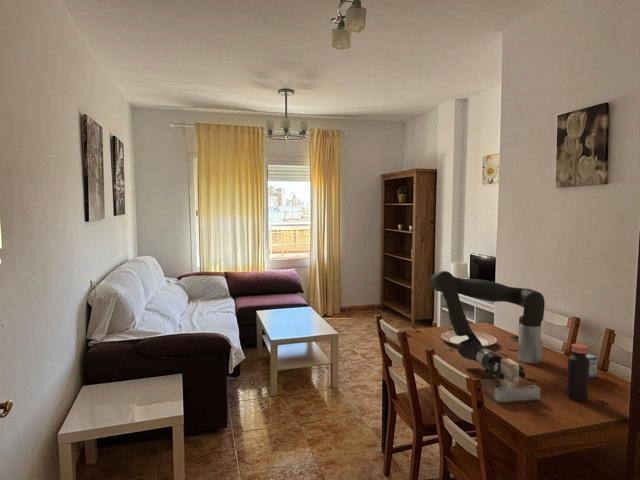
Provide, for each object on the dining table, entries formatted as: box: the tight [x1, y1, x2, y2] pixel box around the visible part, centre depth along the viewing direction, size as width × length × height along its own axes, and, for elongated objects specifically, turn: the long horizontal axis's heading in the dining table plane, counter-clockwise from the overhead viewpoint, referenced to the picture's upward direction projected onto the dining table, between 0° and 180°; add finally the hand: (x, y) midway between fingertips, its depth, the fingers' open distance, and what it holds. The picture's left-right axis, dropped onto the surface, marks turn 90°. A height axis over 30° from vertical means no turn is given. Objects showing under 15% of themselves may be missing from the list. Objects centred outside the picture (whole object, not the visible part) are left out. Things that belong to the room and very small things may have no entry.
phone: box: [509, 335, 518, 343], centre depth 218 cm, size 8×1×15 cm
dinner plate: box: [441, 330, 498, 348], centre depth 217 cm, size 27×27×3 cm
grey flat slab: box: [480, 378, 539, 405], centre depth 158 cm, size 16×18×1 cm
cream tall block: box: [500, 358, 520, 387], centre depth 154 cm, size 4×6×12 cm, turn 9°
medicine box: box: [586, 353, 598, 379], centre depth 173 cm, size 8×4×9 cm, turn 106°
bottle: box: [565, 343, 590, 403], centre depth 152 cm, size 7×7×20 cm
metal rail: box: [494, 384, 541, 402], centre depth 149 cm, size 16×3×4 cm, turn 98°
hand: (513, 376), depth 151 cm, fingers open, 8 cm apart
